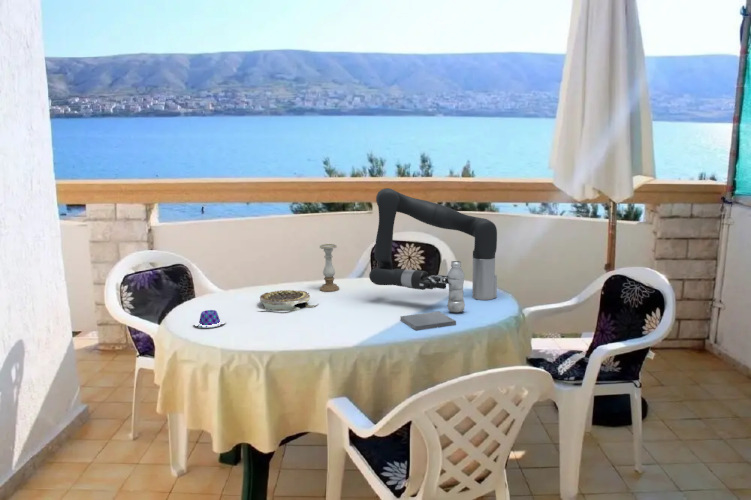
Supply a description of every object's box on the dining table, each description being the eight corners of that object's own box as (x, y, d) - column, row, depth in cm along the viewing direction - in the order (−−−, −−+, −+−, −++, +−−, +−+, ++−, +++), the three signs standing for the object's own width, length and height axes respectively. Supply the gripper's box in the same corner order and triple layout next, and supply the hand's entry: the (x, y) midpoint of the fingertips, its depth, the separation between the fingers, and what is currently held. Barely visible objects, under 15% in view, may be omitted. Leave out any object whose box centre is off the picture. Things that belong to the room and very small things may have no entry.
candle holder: (343, 288, 294) (341, 244, 290) (331, 292, 287) (330, 247, 283) (327, 286, 299) (326, 243, 295) (315, 290, 292) (314, 246, 288)
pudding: (191, 323, 246) (190, 309, 245) (223, 319, 250) (222, 306, 249) (195, 331, 235) (194, 317, 234) (228, 327, 240) (228, 313, 239)
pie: (238, 310, 263) (238, 298, 262) (273, 295, 288) (273, 284, 287) (299, 316, 252) (299, 304, 251) (330, 300, 277) (330, 289, 276)
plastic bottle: (464, 314, 248) (464, 263, 245) (446, 314, 250) (446, 263, 246) (465, 310, 255) (465, 260, 251) (448, 309, 256) (448, 260, 252)
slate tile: (438, 315, 249) (438, 311, 248) (456, 324, 236) (456, 320, 235) (400, 320, 243) (400, 316, 243) (415, 330, 230) (415, 326, 230)
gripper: (405, 273, 254) (442, 278, 245) (423, 267, 266) (459, 271, 257) (405, 292, 255) (442, 297, 246) (423, 284, 267) (459, 289, 258)
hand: (450, 283), depth 252 cm, fingers open, 8 cm apart
